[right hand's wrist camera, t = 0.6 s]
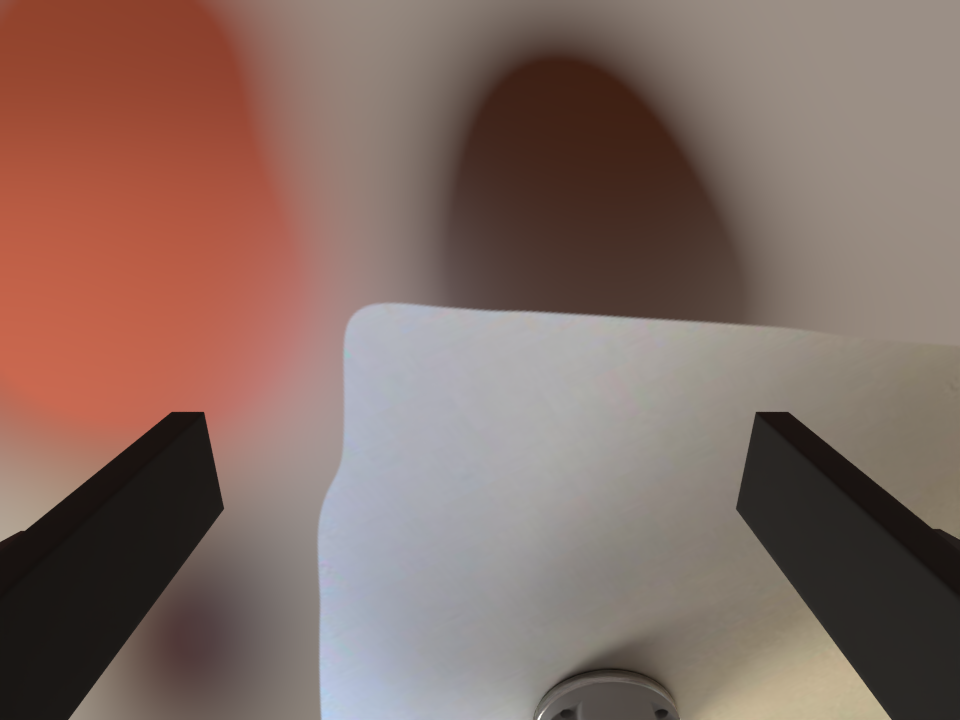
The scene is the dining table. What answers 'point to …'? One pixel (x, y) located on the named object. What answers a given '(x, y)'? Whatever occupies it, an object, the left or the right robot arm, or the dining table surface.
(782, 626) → the dining table surface
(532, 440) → the dining table surface
